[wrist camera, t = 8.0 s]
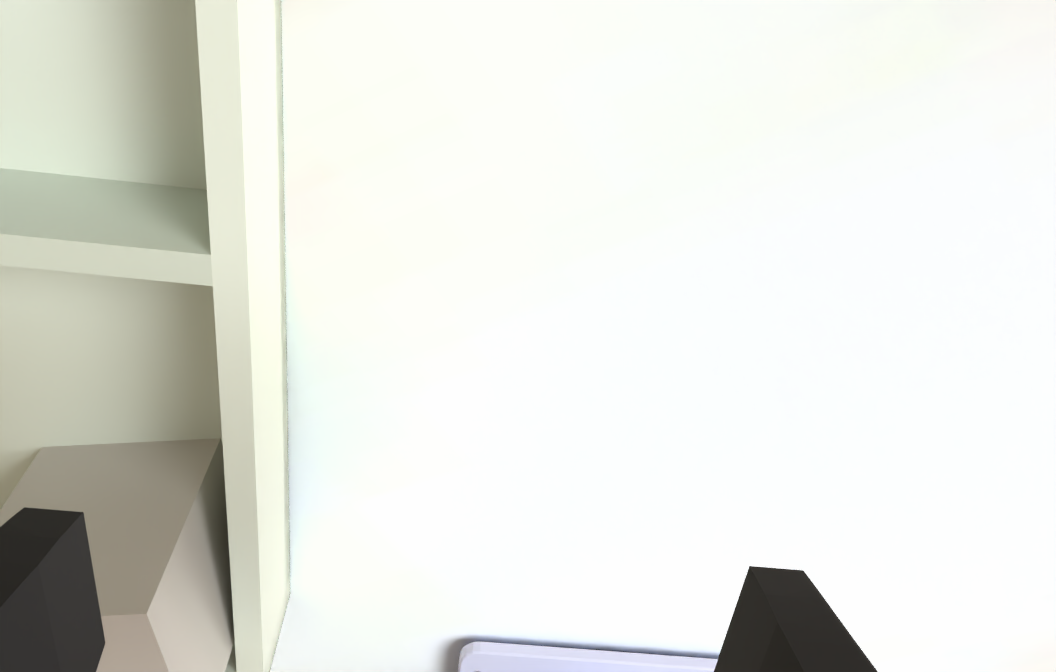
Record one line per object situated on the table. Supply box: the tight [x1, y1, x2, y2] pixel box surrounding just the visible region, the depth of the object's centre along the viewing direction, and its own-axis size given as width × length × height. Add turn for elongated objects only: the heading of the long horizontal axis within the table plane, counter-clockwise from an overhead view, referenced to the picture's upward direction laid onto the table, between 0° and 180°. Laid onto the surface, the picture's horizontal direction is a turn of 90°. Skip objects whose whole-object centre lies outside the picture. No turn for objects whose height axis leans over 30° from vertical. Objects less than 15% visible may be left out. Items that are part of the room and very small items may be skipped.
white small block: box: [0, 438, 235, 672], centre depth 20 cm, size 4×4×5 cm
